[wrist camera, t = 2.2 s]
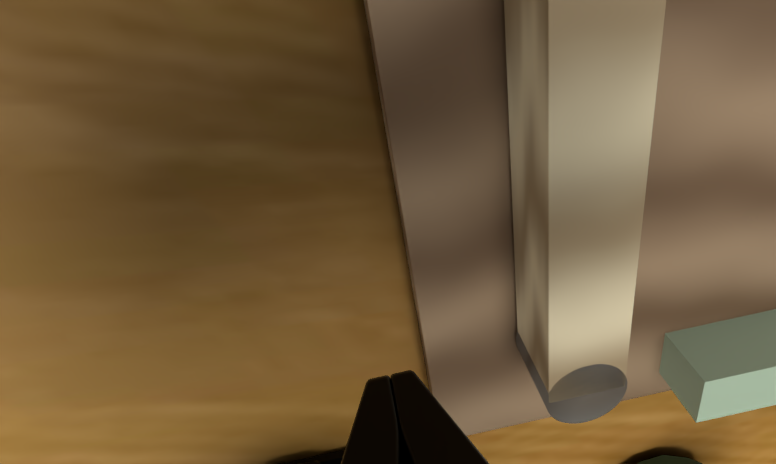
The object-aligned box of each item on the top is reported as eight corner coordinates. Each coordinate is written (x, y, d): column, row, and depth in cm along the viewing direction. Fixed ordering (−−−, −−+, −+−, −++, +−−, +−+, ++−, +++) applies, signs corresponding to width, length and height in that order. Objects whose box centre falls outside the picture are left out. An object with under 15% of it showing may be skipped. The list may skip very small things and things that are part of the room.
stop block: (816, 337, 27) (869, 383, 25) (658, 372, 27) (696, 422, 25) (830, 297, 26) (888, 341, 24) (665, 333, 26) (705, 382, 23)
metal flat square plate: (822, 330, 30) (846, 350, 28) (434, 416, 29) (440, 441, 28) (1006, -180, 18) (1060, -185, 16) (354, -55, 17) (358, -50, 16)
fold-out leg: (585, 351, 25) (624, 413, 22) (516, 366, 25) (546, 430, 22) (606, -57, 16) (674, -44, 13) (498, -37, 16) (544, -19, 13)
